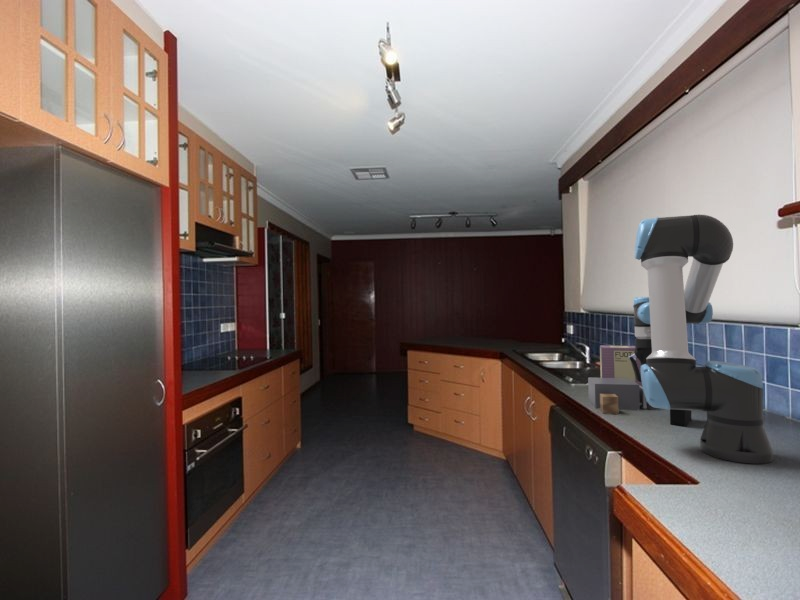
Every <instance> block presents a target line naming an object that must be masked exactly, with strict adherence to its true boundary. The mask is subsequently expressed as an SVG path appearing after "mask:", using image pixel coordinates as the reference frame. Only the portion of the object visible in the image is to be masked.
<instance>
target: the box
mask: <svg viewBox="0 0 800 600" xmlns="http://www.w3.org/2000/svg"><path fill="white" fill-rule="evenodd" d="M634 352H635V345H602V344H601V345H599V360H600V361H599V365H600V366H599V367H600V369H599V370H600V378H629V379H631V380H632V381H634V382H636V383H637V384H639V385H640V386H642V382H639V381H638V380H637V379H636V376H635V373H634V370H633V366H632V363H631V361H630V360H629V359H628V356H631V355H633V354H634ZM635 361H636V363H637V366H638V369H639V372H640V376H641V371H640V368H641V362H640V360H639V359H638V358H637V357H636V360H635Z"/></svg>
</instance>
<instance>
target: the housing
mask: <svg viewBox="0 0 800 600" xmlns="http://www.w3.org/2000/svg"><path fill="white" fill-rule="evenodd" d="M587 383H588V384H587V388H588V402H590V404H591V405H592V404H593V405H594V406H593V405H592V406H593V407H594V408H595V409H600V394H615V395H616V396H618V410H639V411H640V410H641V406H640V396H639V384H637V383H636V382H634V381H632V380H631V379H629V378H601V377H588V378H587Z"/></svg>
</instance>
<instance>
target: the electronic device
mask: <svg viewBox="0 0 800 600" xmlns="http://www.w3.org/2000/svg"><path fill="white" fill-rule="evenodd" d="M669 421H670V425H673V426H674V425H675V426H679V427H680V426H681V427H687V426H688V424H689V423H690V422H692V410H675V409H670V410H669Z"/></svg>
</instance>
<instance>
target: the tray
mask: <svg viewBox="0 0 800 600" xmlns="http://www.w3.org/2000/svg"><path fill="white" fill-rule="evenodd" d="M639 396H640V408H643V409H645V410H646V409H647V407H648V405H647V404H648V402H647V400H646V397H645V394H644V390H643V387H642V386H640V385H639Z"/></svg>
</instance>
